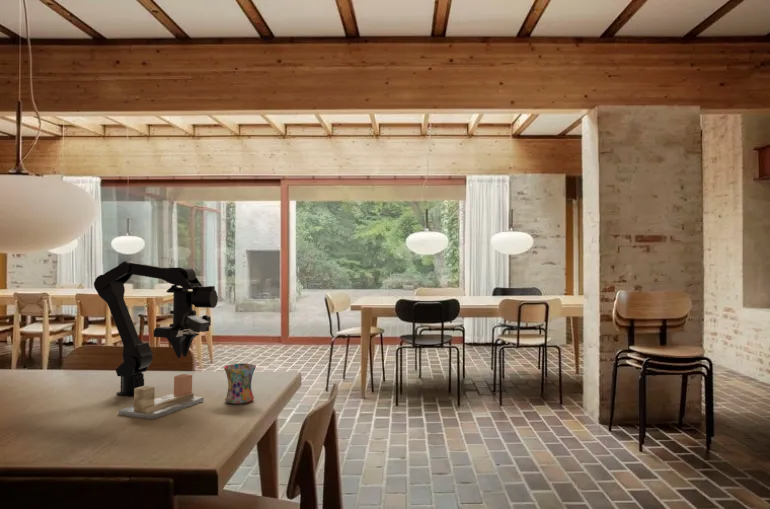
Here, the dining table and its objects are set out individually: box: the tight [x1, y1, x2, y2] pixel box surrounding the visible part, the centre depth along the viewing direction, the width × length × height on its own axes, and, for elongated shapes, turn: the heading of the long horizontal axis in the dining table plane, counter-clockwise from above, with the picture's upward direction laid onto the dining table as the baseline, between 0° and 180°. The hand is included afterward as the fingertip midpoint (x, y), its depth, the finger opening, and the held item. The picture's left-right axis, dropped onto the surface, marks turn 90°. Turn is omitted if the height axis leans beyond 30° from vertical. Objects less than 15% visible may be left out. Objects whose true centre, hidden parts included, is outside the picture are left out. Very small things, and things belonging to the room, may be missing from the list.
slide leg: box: [173, 373, 193, 397], centre depth 159 cm, size 4×4×6 cm
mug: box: [223, 363, 257, 405], centre depth 160 cm, size 12×9×11 cm
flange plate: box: [117, 393, 205, 420], centre depth 151 cm, size 12×20×1 cm, turn 159°
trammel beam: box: [133, 385, 195, 413], centre depth 151 cm, size 5×18×6 cm, turn 160°
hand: (182, 357), depth 165 cm, fingers open, 2 cm apart
